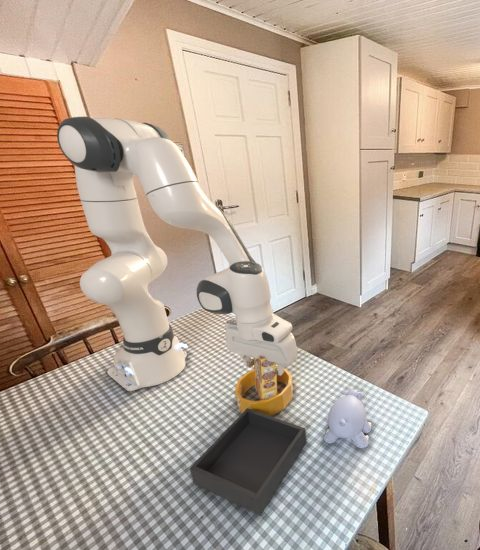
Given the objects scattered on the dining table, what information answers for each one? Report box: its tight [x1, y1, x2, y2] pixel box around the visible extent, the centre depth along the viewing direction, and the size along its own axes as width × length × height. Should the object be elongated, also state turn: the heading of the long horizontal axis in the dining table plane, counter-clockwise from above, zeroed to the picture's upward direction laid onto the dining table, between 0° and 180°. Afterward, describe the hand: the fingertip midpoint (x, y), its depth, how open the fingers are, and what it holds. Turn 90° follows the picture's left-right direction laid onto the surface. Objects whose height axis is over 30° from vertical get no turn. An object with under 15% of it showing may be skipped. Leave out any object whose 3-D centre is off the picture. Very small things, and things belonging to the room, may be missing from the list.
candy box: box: [252, 356, 278, 401], centre depth 82 cm, size 9×4×15 cm, turn 33°
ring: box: [234, 365, 294, 417], centre depth 84 cm, size 15×15×5 cm
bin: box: [189, 408, 307, 517], centre depth 66 cm, size 17×17×5 cm
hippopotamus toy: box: [323, 388, 373, 449], centre depth 74 cm, size 11×15×10 cm
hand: (264, 369), depth 81 cm, fingers open, 8 cm apart
